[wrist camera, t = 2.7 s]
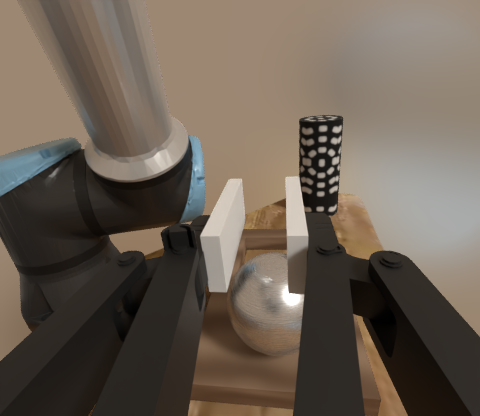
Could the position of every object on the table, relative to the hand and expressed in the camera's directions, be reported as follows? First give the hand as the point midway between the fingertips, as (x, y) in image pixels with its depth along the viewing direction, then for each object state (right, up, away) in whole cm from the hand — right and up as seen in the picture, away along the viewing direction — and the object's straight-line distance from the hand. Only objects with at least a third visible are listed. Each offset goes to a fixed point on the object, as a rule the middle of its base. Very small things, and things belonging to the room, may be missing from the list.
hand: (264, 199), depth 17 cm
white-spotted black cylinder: (+16, -1, +48) cm, 50 cm away
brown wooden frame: (+4, -13, +23) cm, 27 cm away
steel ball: (+2, -10, +12) cm, 16 cm away
